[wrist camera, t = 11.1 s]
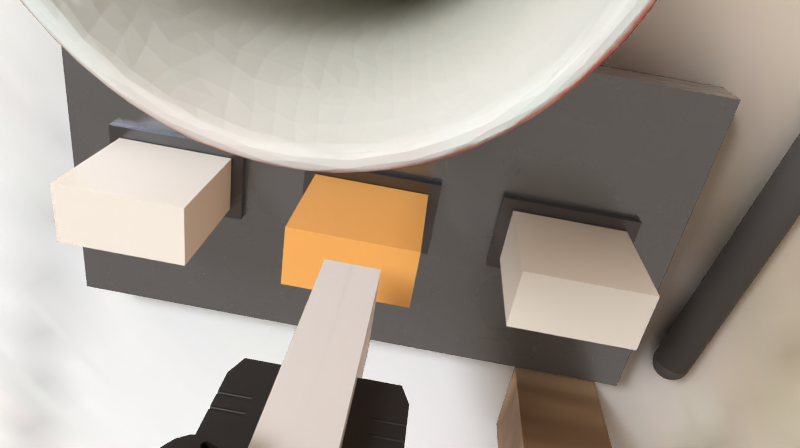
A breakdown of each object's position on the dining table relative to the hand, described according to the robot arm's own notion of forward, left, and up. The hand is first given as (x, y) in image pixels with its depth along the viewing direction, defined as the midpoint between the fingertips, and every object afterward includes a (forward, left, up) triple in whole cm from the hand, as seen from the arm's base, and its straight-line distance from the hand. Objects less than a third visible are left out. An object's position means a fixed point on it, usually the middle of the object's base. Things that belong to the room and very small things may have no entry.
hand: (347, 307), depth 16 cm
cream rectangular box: (0, +7, -6) cm, 9 cm away
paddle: (0, -7, -6) cm, 10 cm away
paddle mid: (0, 0, -6) cm, 6 cm away
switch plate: (0, 0, -8) cm, 8 cm away
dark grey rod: (-1, +14, -8) cm, 16 cm away
